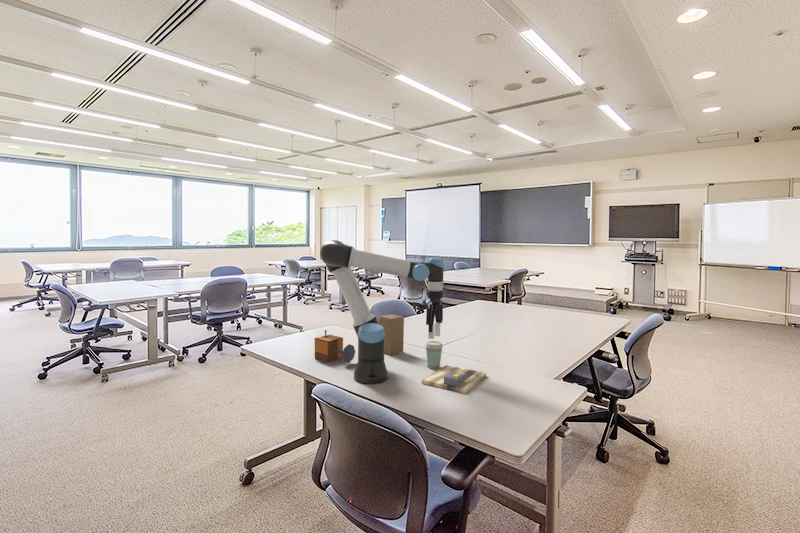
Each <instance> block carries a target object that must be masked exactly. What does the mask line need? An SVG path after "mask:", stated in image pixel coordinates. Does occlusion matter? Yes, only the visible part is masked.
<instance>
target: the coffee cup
mask: <svg viewBox="0 0 800 533" xmlns="http://www.w3.org/2000/svg"><path fill="white" fill-rule="evenodd" d="M425 343H426V344H425V346H424V347H425V351H426V363H427V364H426V365H427V368H428V369H432V370H437V369H438V370H439V369H440V367H441V360H442V352H443V348H444V345H443V344H442V342H440V341H437V340H429V341H427V342H425Z"/></svg>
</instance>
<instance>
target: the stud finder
mask: <svg viewBox="0 0 800 533" xmlns="http://www.w3.org/2000/svg"><path fill="white" fill-rule="evenodd" d="M464 381H465V374H461V373H456V372H451V373H449V374H448V375H446V376H445V377H444V384H447V385H451V386H455V387H457V386H459V385H460V384H461V383H463V382H464Z"/></svg>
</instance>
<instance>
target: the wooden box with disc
mask: <svg viewBox="0 0 800 533" xmlns="http://www.w3.org/2000/svg"><path fill="white" fill-rule="evenodd" d="M355 356H356V350H355V346H354V345H352V344H347V345H345V347H344V337H341V336H339V335H333V334H327V329H325V330H324V335H321V336H318V337H314V359H316V360H319V361H322V362H326V363H330V361H331V362H333V360H334V361H338V360H340V358H341V359H342V361H343V362H344V363H348V364H349V363H351V361H353V360H354V359H355Z"/></svg>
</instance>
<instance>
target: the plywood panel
mask: <svg viewBox="0 0 800 533" xmlns="http://www.w3.org/2000/svg"><path fill="white" fill-rule="evenodd" d="M451 372H456V373H461V374H465V381H464V382H463V383H461V384H460V385H459V386H457V387H455V386H451V385H447V384H444V377H445V376H446V375H448V374H449V373H451ZM486 376H487V372H483V371H479V370H474V369H470V368H469V369H468V368H463V367H460V366H459V367H458V366H453V365H448V364H446V365H444V366H442V367H441V368H438V370H437V369H436V371H434V372H432V373H430V374H429V375H427V376H426V377H424V378H422V379H421V384H423V385H427V386H431V387H435V388H439V389H444V390H448V391H452V392H456V393H461V394H467V392H468V391H470V390H471V389H472V388H474V387H475V386H476V385H477V384H479V383H480V382H481V381H482V380H483V379H485V378H486Z"/></svg>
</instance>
